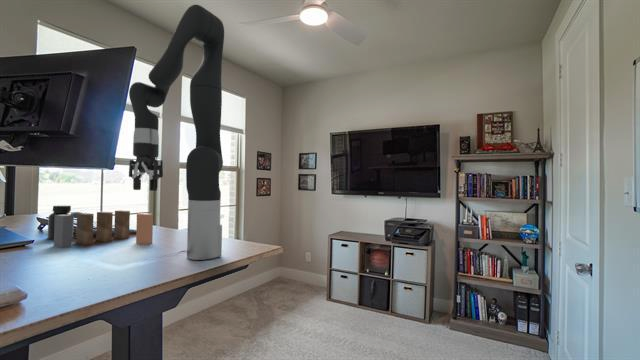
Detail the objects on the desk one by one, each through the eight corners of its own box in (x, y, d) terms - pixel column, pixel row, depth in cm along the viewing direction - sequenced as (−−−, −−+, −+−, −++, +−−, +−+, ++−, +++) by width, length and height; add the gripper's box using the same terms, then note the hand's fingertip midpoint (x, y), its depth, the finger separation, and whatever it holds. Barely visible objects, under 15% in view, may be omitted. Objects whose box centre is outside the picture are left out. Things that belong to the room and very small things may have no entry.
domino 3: (120, 236, 111) (121, 210, 111) (129, 237, 109) (129, 211, 109) (114, 237, 109) (114, 210, 109) (122, 239, 107) (123, 211, 107)
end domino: (63, 245, 95) (63, 214, 95) (71, 247, 93) (72, 215, 93) (53, 246, 93) (54, 215, 93) (62, 248, 91) (63, 216, 91)
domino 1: (84, 242, 100) (85, 212, 100) (92, 243, 98) (93, 213, 98) (76, 243, 98) (76, 213, 98) (84, 245, 96) (85, 214, 96)
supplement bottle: (62, 241, 101) (63, 206, 101) (41, 241, 100) (42, 206, 101) (78, 238, 107) (79, 205, 108) (59, 237, 107) (60, 204, 107)
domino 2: (103, 239, 106) (104, 211, 106) (111, 240, 104) (112, 212, 104) (96, 240, 104) (96, 212, 104) (104, 241, 101) (105, 212, 102)
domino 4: (142, 241, 102) (143, 213, 102) (152, 243, 100) (153, 214, 100) (136, 243, 100) (136, 213, 100) (145, 244, 98) (146, 214, 98)
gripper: (122, 142, 100) (120, 189, 100) (149, 140, 94) (148, 191, 94) (143, 145, 107) (142, 189, 107) (170, 143, 101) (169, 190, 101)
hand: (145, 190), depth 100 cm, fingers open, 8 cm apart
